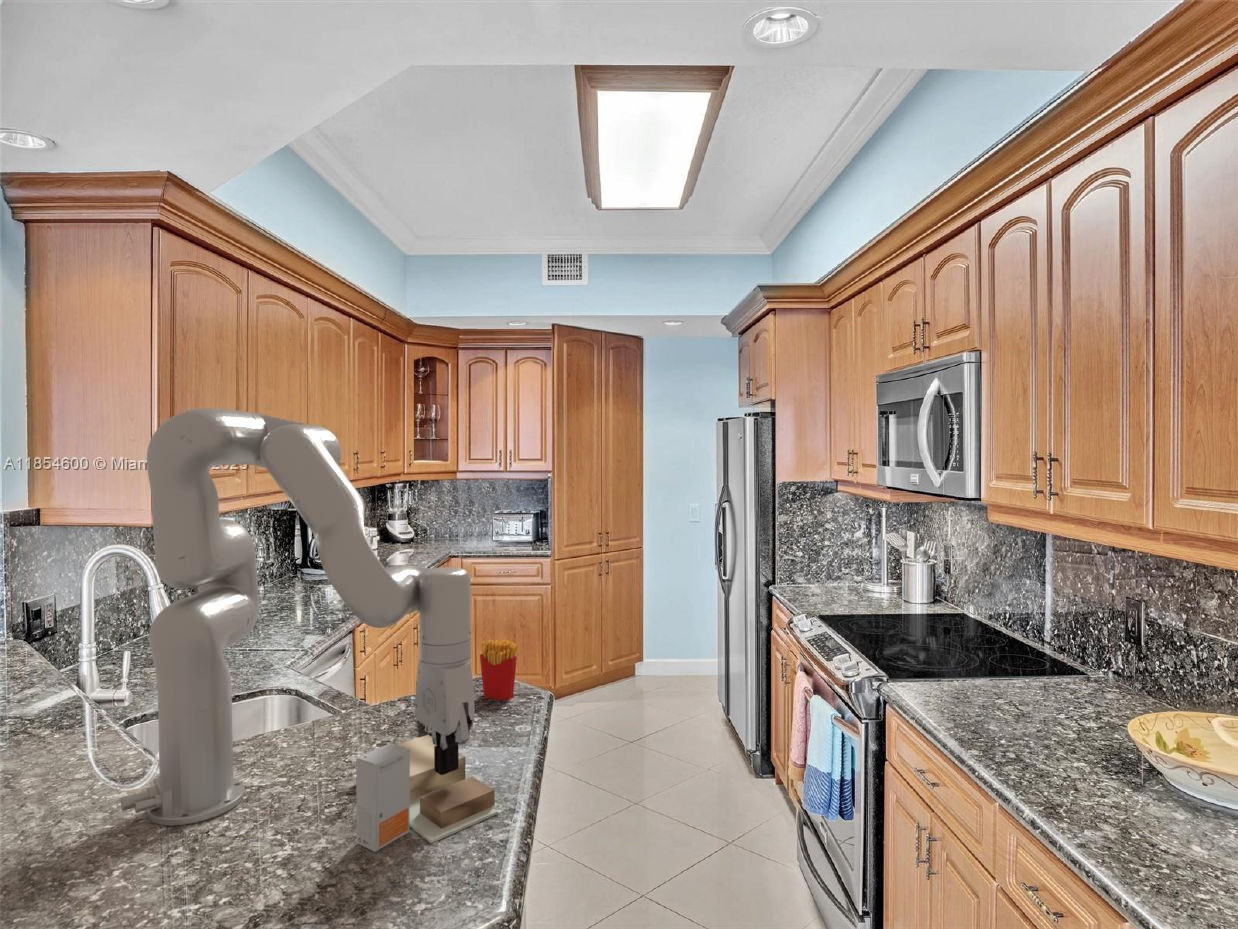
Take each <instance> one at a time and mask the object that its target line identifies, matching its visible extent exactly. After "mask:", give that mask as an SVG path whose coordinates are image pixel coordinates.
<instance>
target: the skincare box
mask: <svg viewBox="0 0 1238 929" xmlns="http://www.w3.org/2000/svg"><path fill="white" fill-rule="evenodd" d="M355 762H356V764H355V765H356V766H355V767H356V768H355V781H356V782H355V784H356V785H355V787H356V788H355V791H356V792H355V798H356V799H355V809H356V810H355V812H356V814H355V817H356V818H355V839H356V840H355V843H356V844H357V845H359V846H361V847H364V848H366V849H368V850H370V851H373V852H374V853H377V852H378V851H379V850H381V849H383V848H385V847H386V846H388V845H390V844H392V843H393V842H394V841H397V840H398V839H400V838H401V837H403V836H405V835H407V834H409V833H410V826H409V817H410V750H409V749H407V748H404V747H401V746H398V744H395V743H392V742H390V743H387V744H385V745H383V746H381V747H377V748H375V749H373V750H371V751H369V752H367V753H365V754H363V755H360V756H358V757H357V758H356V760H355Z"/></svg>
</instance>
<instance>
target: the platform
mask: <svg viewBox="0 0 1238 929" xmlns="http://www.w3.org/2000/svg"><path fill="white" fill-rule="evenodd" d="M397 745H398V746H401V747H404V748H407V749H409V750H410V800H412V799H414V798H417V797H420V796H422V795H425V794H427V793H430V792H432V791H435V790H438V789H440V788H443V787H445V786H448V785H451V784H453V783H457V782H459V781H462V780H464V779H467V778H466V756H465V755H463V754H462V753H459V752H458V757H459V767H458V769H457V770H455V771H452V772H449V773H447V774H444V775H440V774H439V773H437V772H435V770H434V746H437V745H434V744H433V742H432V737H431V736H429V735H428V734H426V735H424V736H420V737H416V738H413V739H411V740H407V741H404V742H401V743H399V744H397Z"/></svg>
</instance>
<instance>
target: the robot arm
mask: <svg viewBox="0 0 1238 929" xmlns="http://www.w3.org/2000/svg"><path fill="white" fill-rule="evenodd" d="M146 451H147V452H146V468H147V470H146V471H147V474H148V475H147V476H148V483H149V488H150V495H151V496H150V497H151V507H152V508H151V514H152V516H151V517H152V527H153V528H152V529H153V543H154V544H153V546H154V560H155V568H156V570H157V574H158V577H159V578H160V579H161V581H162V582H163V583H164V584H165V585H167V586H168V587H169V588H170V587H171V588H173V589H179V590H180V589H182V590H185V589H192V588H197V590H198V592H197V593H195V594H192V595H189V596H186V597H183V598H181V599H178V600H176V601H174V602H172V603H171V604H169V605H168V606H165V608H162V610H161V611H160V612H158V614H157V615H156V616H155V618H154V620H153V621H152V624H151V625H150V630H149V634H148V642H149V648H150V652H151V657H152V661H153V665H154V669H155V675H156V676H155V677H156V688H157V689H156V691H157V709H158V710H157V715H158V755H159V756H158V758H159V768H158V769H159V777H158V778H155V779H153V785H152V786H149V787H147V788H146V790H145V791H141V792H138V793H136V792H135V793H131V794H130V795H125V796H122V797H120V808H121V812H124V811H125V812H126V811H128V810H132V809H134V812H135V814H137V813H141V812H144V811H147V818H148V819H149V820H150V821H151V822H152V823H155V824H158V825H161V826H182V825H183V826H184V825H190V824H197V823H200V822H202V821H207V820H209V819H213V818H216V817H218V816H221V815H222V814H225V813H226V812H229V811H230V810H231V809H233V808H235V807H236V806H237V805H238V804H240V802H241V801H242V800H243V799H244V797H245V794H246V790H245V789H246V788H245V784H244V783H243V782H242V781H241V780H239V779H236V778H234V750H233V749H234V748H233V747H234V746H233V742H234V741H233V740H234V739H233V737H234V736H233V696H232V693H233V692H232V678H231V673H230V670H229V668H228V665H227V663H226V659H225V656H224V650H225V649H226V648H228V647H230V646H231V645H234V644H235V643H238V642H239V641H240V640H243V639H244V638H246V637H247V636H248V635H249V634H250V633H251V632H252V631H253V629H254V628H255V626H256V624H257V620H258V618H259V610H260V604H259V603H260V601H259V600H260V598H259V584H258V569H257V556H256V555H257V554H256V548H255V544H254V541H253V538H252V536H251V534H250V533H249V532H248V530H247V528H245V527H244V526H243V525H242V524H240V523H239V522H236V521H234V520H232V519H225V518H220V517H221V516H220V511H219V510H220V509H219V508H220V507H219V505H220V504H219V495H218V494H219V493H218V489H217V486H216V485H215V482H214V480H213V478H212V476H211V474H210V470H211V468H213V467H216V466H232V465H233V466H234V465H246V466H247V465H248V466H253V467H261V468H265V469H266V470H267V472H268V473H269V475H270V476H271V478H272V479H273V480H274V481H275V483H276V484H277V486H278V487H279V488H280V490H281V491H282V492H283V494H284V495H285V497H286V498H287V499H288V500H289V502H290V503H291V505H293V507H294V509H295V510H296V511H297V513H298V514H299V516H300V517H301V518H302V520H303V521H304V522H305V524H306V525H307V527H308V528H309V529H310V531H311V532H312V535H313V538H314V543H315V548H316V551H317V553H318V557H319V560H320V563H321V566H322V569H323V571H324V574H325V575H326V578H327V579H328V581H329V583H330V584H331V586H332V587H333V589H334V590H335V592H336V593H337V594H338V596H339V598H340V599H341V600H342V601H343V603H344V604H345V606H346V607H347V608H348V609H349V610H350V613H352V614H353V615H354V616H355V618H357V619H358V620H359V621H361V622H362V623H363V624H365V625H367V626H369V627H372V628H375V629H377V628H378V629H382V628H390V627H391V626H393V625H395V624H396V623H398V622H400V621H401V620H402V619H403V618H405V617H406V616H408V615H410V614H412V613H414V612H418V613H419V614H418V616H419V623H418V624H419V625H418V626H419V631H418V632H419V659H418V664H417V671H416V679H415V680H416V681H415V692H414V693H415V695H414V696H415V698H414V699H415V700H414V705H415V706H414V713H415V714H414V716H415V718H416V720H417V721H418V722H419V723H421V724H423V725H424V726H425V725H426V726H428V729H429V728H430V731H431V732H432V742H433V744H434V745H437V746H434V770H435V772H437V773H439V774H440V775H444V774H447V773H449V772H452V771H455V770H457V769H458V767H459V757H458V753H459V745H460V744H461V743H463V742H467V741H469V740H470V737H469V733H468V728H471V729H472V727H473V725H474V723H475V692H474V691H475V690H474V689H475V688H474V681H473V671H472V666H471V660H472V624H471V623H472V618H471V617H472V612H471V611H472V610H471V608H472V607H471V606H472V605H471V603H472V602H471V592H472V591H471V588H472V587H471V576H470V574H469V572H468V571H467V570H466V569H464V568H461V567H453V566H452V567H451V566H445V567H434V568H429V567H421V566H417V565H416V566H415V565H408V564H396V565H392V566H389V567H388V568H387V567H385V566H384V565H383V564H382V562H381V560H380V559H379V558H378V556H377V555H376V554H375V552H374V550H373V548H372V547H371V545H370V543H369V540H368V538H367V535H366V532H365V526H364V525H365V524H364V522H365V521H364V520H365V512H366V511H365V510H366V506H365V501H364V499H363V497H362V495H361V494H360V493H359V492H358V490H357V489H356V487H355V486H354V484H352V482H351V481H350V480H349V478H348V477H347V476H346V474H345V472H344V471H343V470H342V469H341V467H340V466H339V464H340V463H341V460H342V448H341V444H340V442H339V440H338V438H337V437H336V436H335V434H334V433H333V432H332V431H330V430H329V429H328V428H325V427H323V426H320V425H317V424H309V423H302V422H298V421H294V420H289V419H286V418H285V419H284V418H280V417H275V416H273V415H272V416H271V415H268V414H267V415H266V414H262V413H257V412H252V411H247V410H246V411H243V410H237V409H235V410H234V409H225V408H214V407H213V408H212V407H204V408H193V409H189V410H185V411H182V412H179V413H177V414H175V415H173V416H171V417H170V418H168V419H167V420H165V421H164V422H163V423H162V424H160V425H159V426H158V428H157V429H156V431H154V433H153V435H152V437H151V438H150V440H149V444H148V446H147V450H146ZM453 732H454V733H453Z"/></svg>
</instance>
